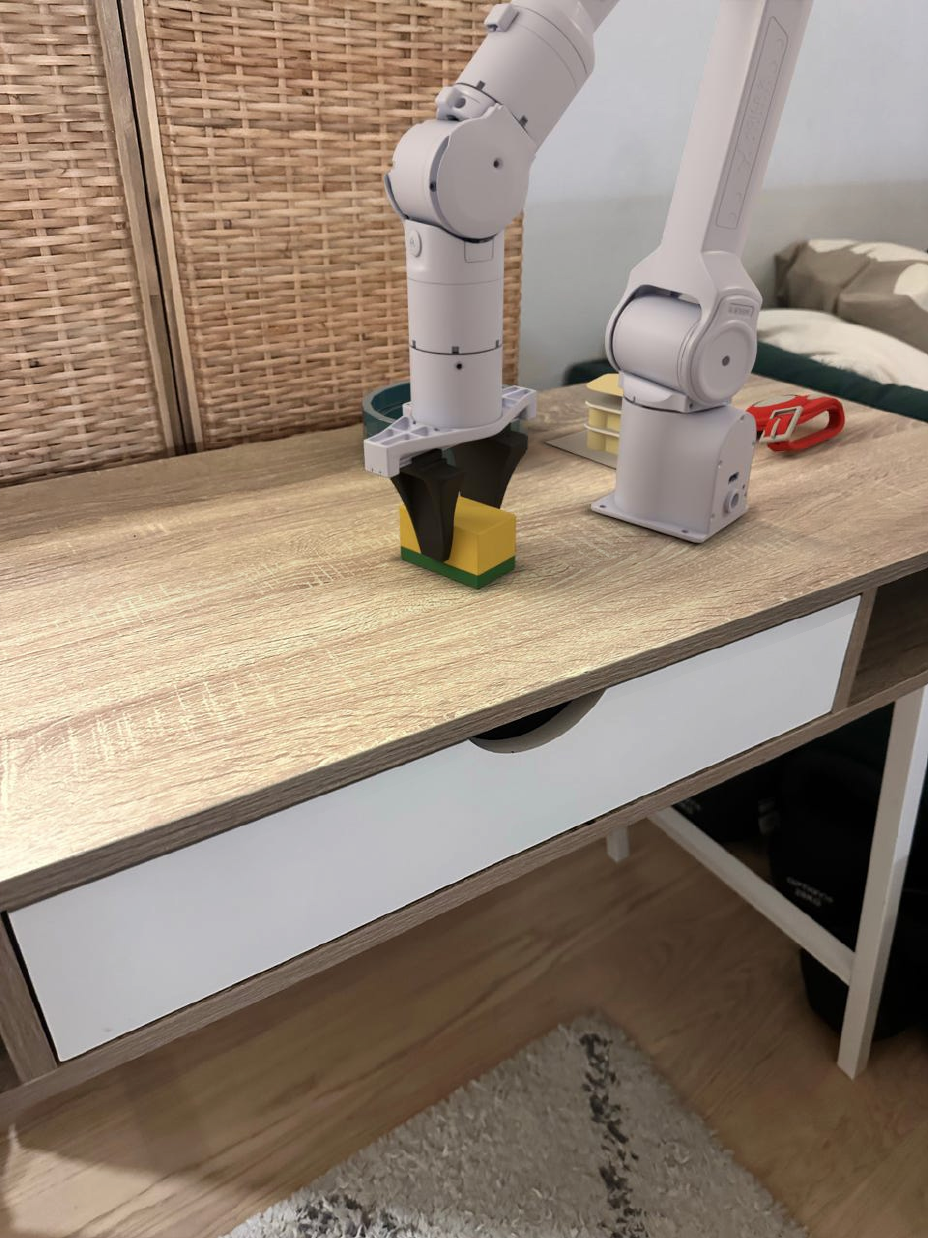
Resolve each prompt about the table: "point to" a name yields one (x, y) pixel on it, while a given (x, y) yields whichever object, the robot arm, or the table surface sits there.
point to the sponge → (468, 544)
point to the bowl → (388, 408)
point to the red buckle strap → (795, 419)
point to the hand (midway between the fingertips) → (457, 545)
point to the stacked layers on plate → (598, 424)
